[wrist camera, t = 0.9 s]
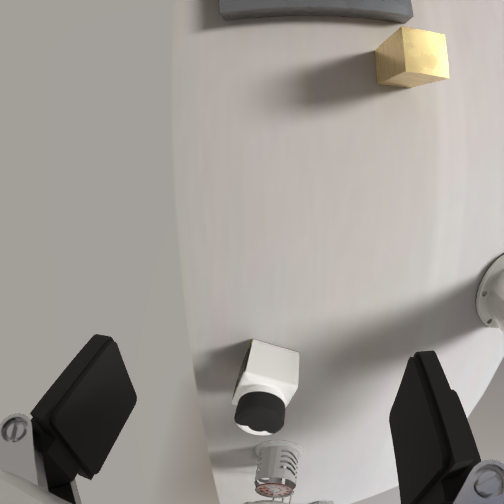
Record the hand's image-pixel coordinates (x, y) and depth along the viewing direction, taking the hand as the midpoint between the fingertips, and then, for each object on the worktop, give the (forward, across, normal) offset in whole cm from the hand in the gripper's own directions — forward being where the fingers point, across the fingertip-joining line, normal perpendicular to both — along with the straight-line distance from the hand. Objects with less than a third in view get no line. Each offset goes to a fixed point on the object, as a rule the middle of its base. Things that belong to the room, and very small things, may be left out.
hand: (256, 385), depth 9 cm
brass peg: (+28, -12, -14) cm, 34 cm away
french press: (+29, +1, +52) cm, 59 cm away
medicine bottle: (+28, +3, +25) cm, 38 cm away
